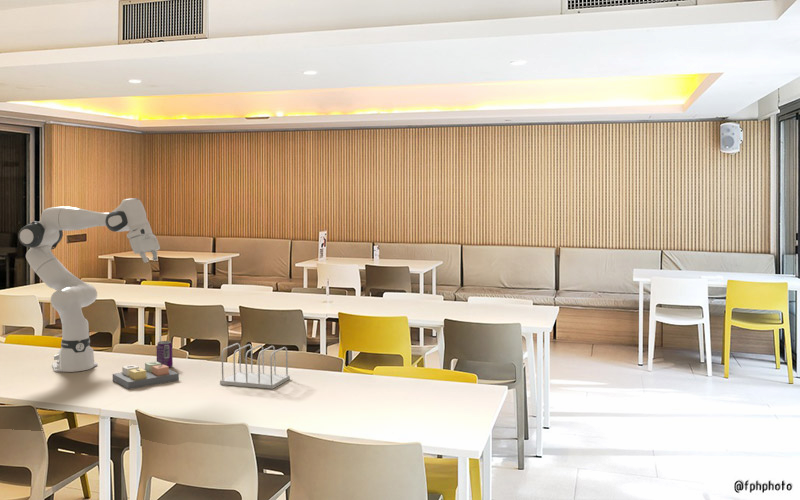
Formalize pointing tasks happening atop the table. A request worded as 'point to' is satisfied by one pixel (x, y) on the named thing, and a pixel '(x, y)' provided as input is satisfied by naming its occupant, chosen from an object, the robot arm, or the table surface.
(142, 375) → the ochre key
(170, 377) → the keypad base
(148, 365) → the sage key
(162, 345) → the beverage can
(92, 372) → the table surface
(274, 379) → the file sorter
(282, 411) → the table surface
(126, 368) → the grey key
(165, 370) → the terracotta key
